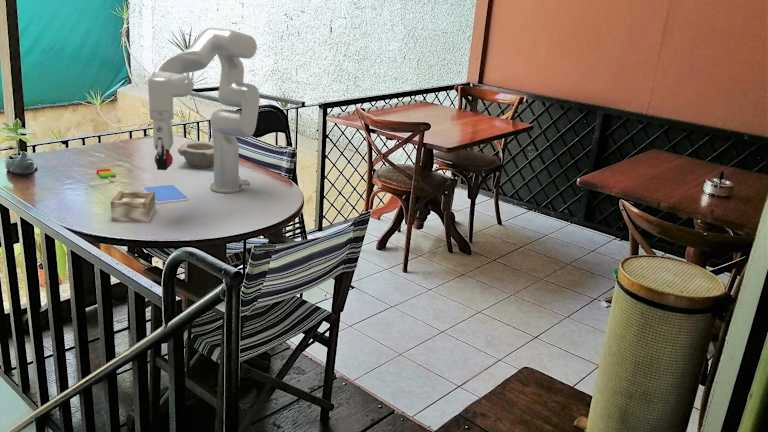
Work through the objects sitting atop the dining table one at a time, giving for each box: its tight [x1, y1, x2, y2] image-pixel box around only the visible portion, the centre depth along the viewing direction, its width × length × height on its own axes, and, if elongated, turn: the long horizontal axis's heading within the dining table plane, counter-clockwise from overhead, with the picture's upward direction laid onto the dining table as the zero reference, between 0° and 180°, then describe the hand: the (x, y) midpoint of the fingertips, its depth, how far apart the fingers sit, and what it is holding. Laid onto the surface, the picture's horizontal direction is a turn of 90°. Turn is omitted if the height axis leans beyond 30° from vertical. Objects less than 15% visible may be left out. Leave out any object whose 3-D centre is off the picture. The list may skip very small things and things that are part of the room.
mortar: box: [177, 140, 214, 169], centre depth 298 cm, size 17×17×9 cm
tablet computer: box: [141, 184, 190, 205], centre depth 261 cm, size 19×13×1 cm, turn 34°
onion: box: [154, 147, 174, 169], centre depth 231 cm, size 6×6×8 cm
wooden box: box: [110, 190, 156, 223], centre depth 237 cm, size 12×12×7 cm
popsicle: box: [96, 168, 117, 183], centre depth 276 cm, size 6×15×2 cm, turn 34°
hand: (163, 166), depth 232 cm, fingers closed on onion, 5 cm apart
